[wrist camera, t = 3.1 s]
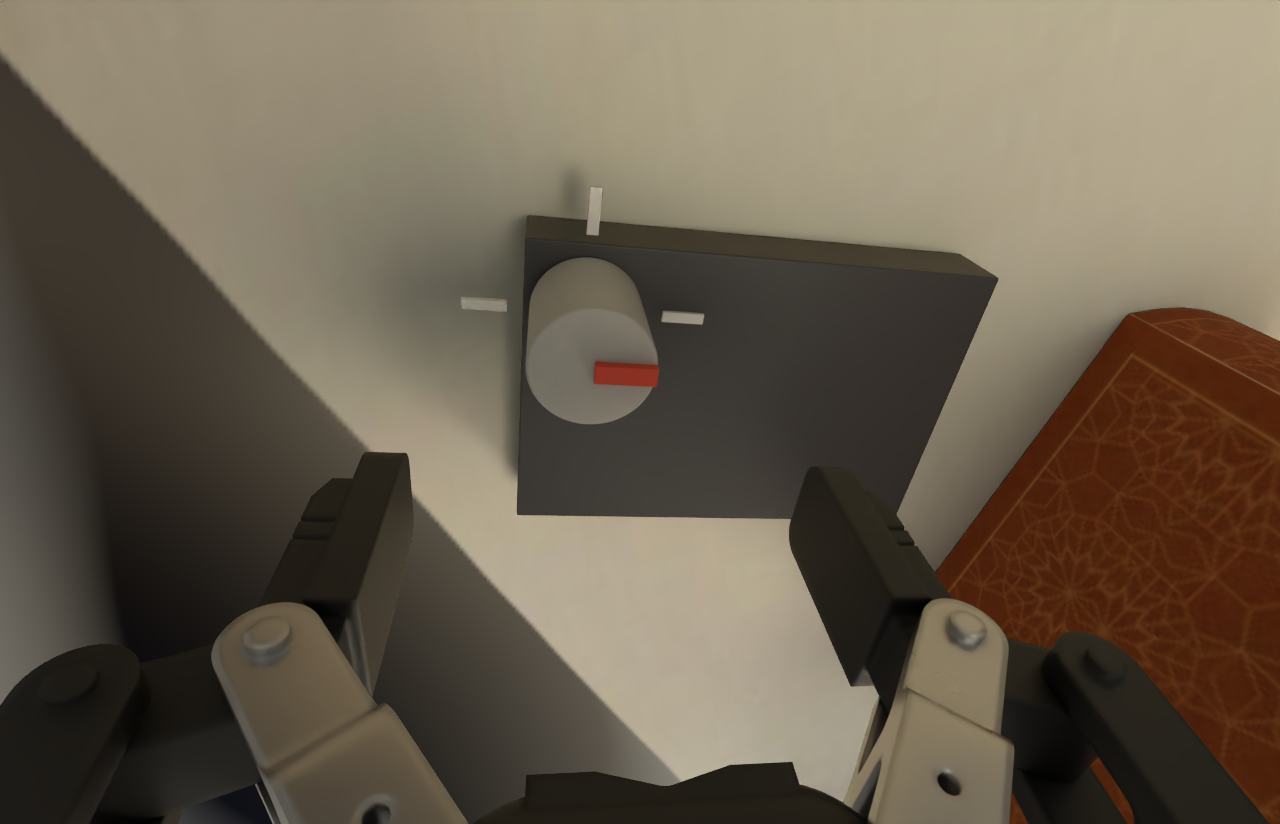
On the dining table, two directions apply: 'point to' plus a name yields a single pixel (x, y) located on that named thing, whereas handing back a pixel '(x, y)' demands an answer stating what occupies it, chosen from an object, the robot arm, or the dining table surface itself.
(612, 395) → the burner knob
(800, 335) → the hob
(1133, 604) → the book
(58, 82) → the dining table surface
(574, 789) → the robot arm
